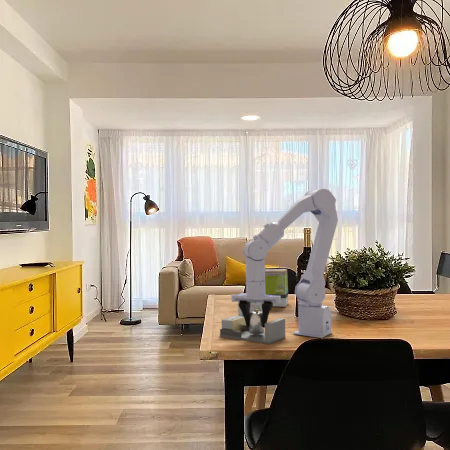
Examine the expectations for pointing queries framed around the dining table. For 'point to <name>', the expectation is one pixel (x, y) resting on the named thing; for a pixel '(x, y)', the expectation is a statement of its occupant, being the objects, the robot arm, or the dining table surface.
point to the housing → (256, 322)
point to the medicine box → (251, 307)
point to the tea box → (277, 285)
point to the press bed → (271, 335)
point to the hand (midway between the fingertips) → (256, 326)
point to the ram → (234, 323)
